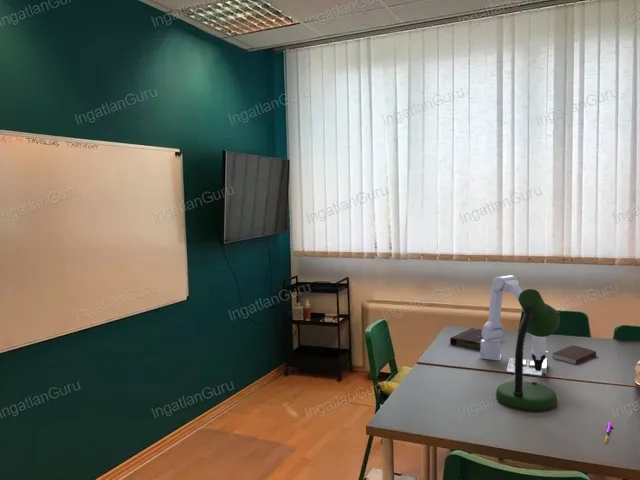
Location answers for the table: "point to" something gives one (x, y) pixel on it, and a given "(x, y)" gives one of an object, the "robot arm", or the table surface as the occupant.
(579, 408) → the table surface
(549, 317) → the desk lamp
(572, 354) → the book
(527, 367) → the server tray
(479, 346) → the diary
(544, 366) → the cable arm
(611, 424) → the purple handled tool
